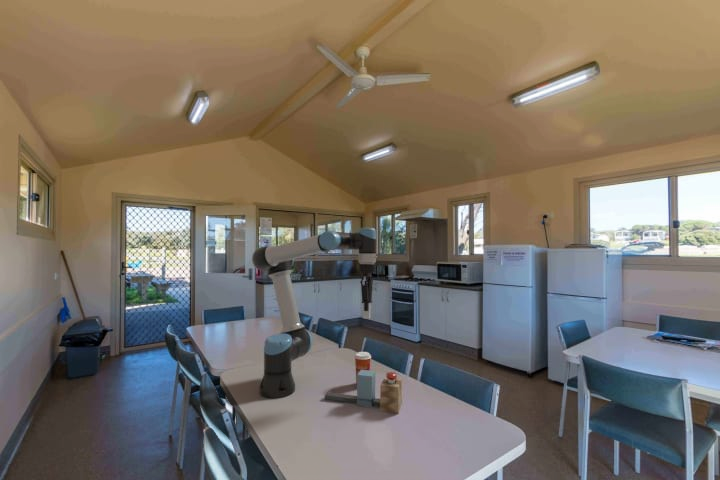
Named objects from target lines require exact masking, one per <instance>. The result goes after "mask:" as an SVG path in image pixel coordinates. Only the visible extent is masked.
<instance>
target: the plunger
mask: <svg viewBox="0 0 720 480" xmlns="http://www.w3.org/2000/svg"><path fill="white" fill-rule="evenodd" d="M385 374H386V376H385V377H387V378H388V383H391V384H395V379H396V378H398V376H397V375H398V374H397V373H396V372H393V371H392V372H387V373H385Z"/></svg>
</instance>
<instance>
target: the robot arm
mask: <svg viewBox="0 0 720 480" xmlns="http://www.w3.org/2000/svg"><path fill="white" fill-rule="evenodd" d="M335 250H341V251H344V250H345V251H346V250H349V251H350V250H352V251H354V250H355V251H357V250H358V263H359V264H358V273H360V274H362V276H361V280H360V288H361V304H363V308H362V309H363V312H362V313H363V315H362V316H363V317H362V318H363V319H367V320H368V319H371V304H372V303H373V299H372V298H373V284H374V283H373V282H374V278H373V275H372V274H374V273H376V271H377V265H376V262H377V260H376V259H378V255H377V252H376V251H377V232H376V229H375V228H374V227H360V228H359V229H358V232H343V231H336V230H335V231H334V230H326V231H323V232H322V233H321V234H318V235H313V236H309V237H306V238H301V239H298V240H294V241H291V242H286V243H283V244H279V245H275V246H274V245H272V244H269V245H265V246H260V247H257V249H255V250H254V252H253V254H252V257H251V260H252V265H253V266H254V267H255V268H256V269H257V270H259V271H261V272H267V276H268V277H269V278H270V279H271V280H272V284H273V289H274V293H275V296H276V297H275V298H276V303H277V306H278V310H279V317H280V321H281V325H282V329H281V330H280V333H277V334H273V335H272V334H271V335H270V336H268V337H267V338H266V339H265V340H264V346H263V375H262V378H261V382H260V385H259V391H258V394H259V395H260V396H262V397H263V398H268V399H280V398H284V397H288V396H290V395H292V394H293V393H294V392H295V391H296V383H295V379H294V377H293V373H292V362H293V361H295V360H297V359H298V358H301V357H303V356H305V355H306V354H308V353H309V352H310V350H311V349H312V348H313V347H312V346H313V336H312V335H311V333H310V332H309V331H308V330H307V329H306V327H305V325H304V324H303V323H302V322H301V320H300V319H301V318H300V315H299V310H298V305H297V301H296V297H295V296H296V295H295V291H294V287H293V282H292V278H291V273H292V272H293V269H292V267H293V265H294V261H295V260H296V259H300V258H305V257H308V256H312V255H317V254H321V253H325V252H326V253H327V252H329V251H330V252H331V251H335Z"/></svg>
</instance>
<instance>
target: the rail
mask: <svg viewBox="0 0 720 480" xmlns="http://www.w3.org/2000/svg"><path fill="white" fill-rule="evenodd" d="M324 401H328V402H329V401H330V402H337V403H344V404H350V405H351V404H352V405H357V395H352V394H345V393H338V392H337V393H336V392H330V391H328V392H326V393H325V394H324ZM373 407H374V408H380V398H376V397H375V398H374V399H373V401H372V408H373Z"/></svg>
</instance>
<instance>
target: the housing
mask: <svg viewBox="0 0 720 480" xmlns="http://www.w3.org/2000/svg"><path fill="white" fill-rule="evenodd" d="M379 387H380V392H379V393H380V394H379V395H380V396H379V397H380V398H379V399H380V407H379V411H380V412H383V413H391V414H399V413H400V410H401V407H402V404H403V378H402V377H397V378H396V379H395V384H391V383H388V378H387V377H386V376H384V377H383V379H382V381H381V383H380V386H379Z"/></svg>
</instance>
